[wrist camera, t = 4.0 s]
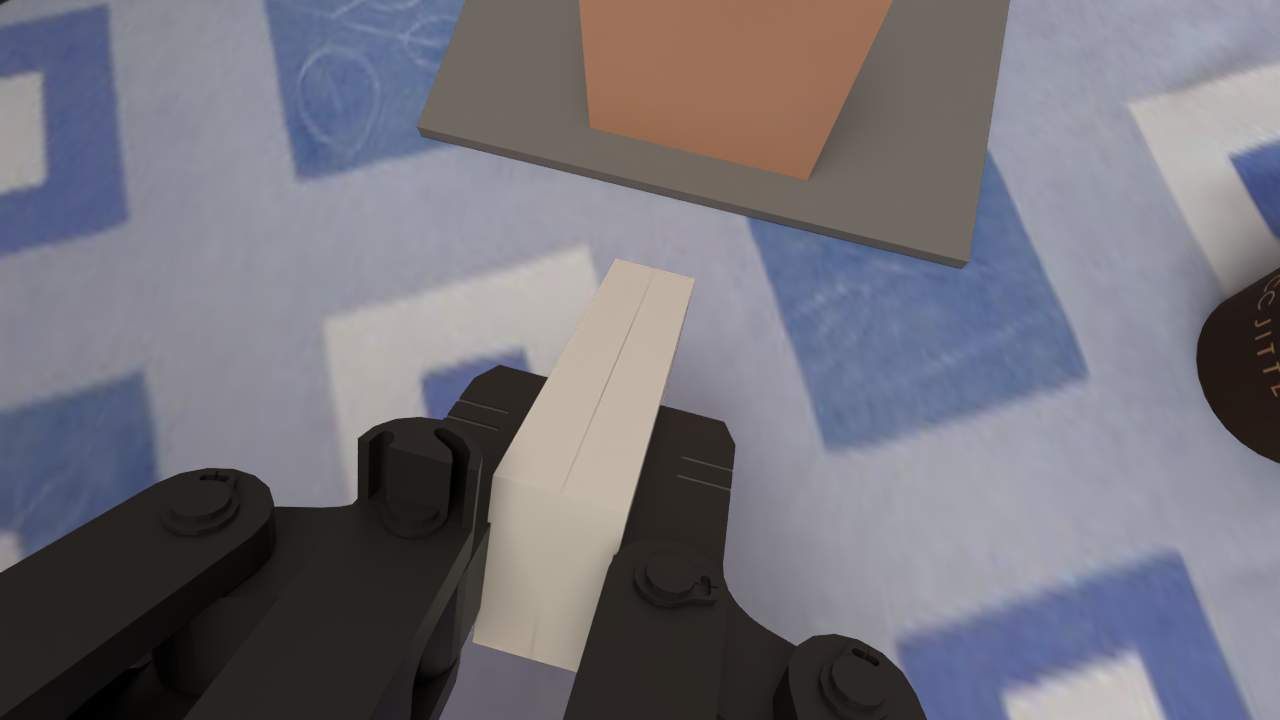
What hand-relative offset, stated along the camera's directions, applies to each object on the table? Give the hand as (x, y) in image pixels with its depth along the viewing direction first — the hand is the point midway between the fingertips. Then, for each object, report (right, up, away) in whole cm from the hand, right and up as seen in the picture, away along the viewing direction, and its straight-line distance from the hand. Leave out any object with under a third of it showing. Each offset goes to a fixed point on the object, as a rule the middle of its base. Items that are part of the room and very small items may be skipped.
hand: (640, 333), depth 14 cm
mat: (+4, +13, +15) cm, 20 cm away
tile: (+2, +8, +13) cm, 15 cm away
